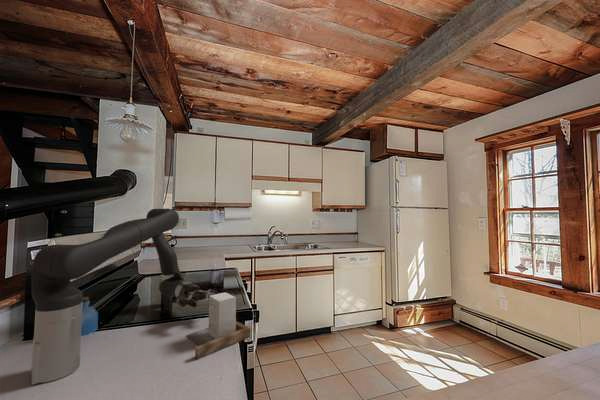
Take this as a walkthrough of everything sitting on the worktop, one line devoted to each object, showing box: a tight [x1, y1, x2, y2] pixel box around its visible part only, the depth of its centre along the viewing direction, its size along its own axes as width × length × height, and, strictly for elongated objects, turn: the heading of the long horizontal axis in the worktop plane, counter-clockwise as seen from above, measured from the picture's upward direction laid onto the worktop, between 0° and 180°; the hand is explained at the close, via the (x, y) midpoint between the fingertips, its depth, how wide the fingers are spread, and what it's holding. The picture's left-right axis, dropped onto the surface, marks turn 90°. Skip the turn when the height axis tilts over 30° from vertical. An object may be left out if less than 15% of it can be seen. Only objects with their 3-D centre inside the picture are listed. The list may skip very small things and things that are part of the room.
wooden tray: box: [186, 320, 252, 360], centre depth 86 cm, size 18×16×3 cm
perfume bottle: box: [81, 296, 99, 337], centre depth 90 cm, size 6×6×12 cm
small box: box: [208, 292, 237, 339], centre depth 88 cm, size 8×6×13 cm
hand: (206, 301), depth 95 cm, fingers open, 8 cm apart
